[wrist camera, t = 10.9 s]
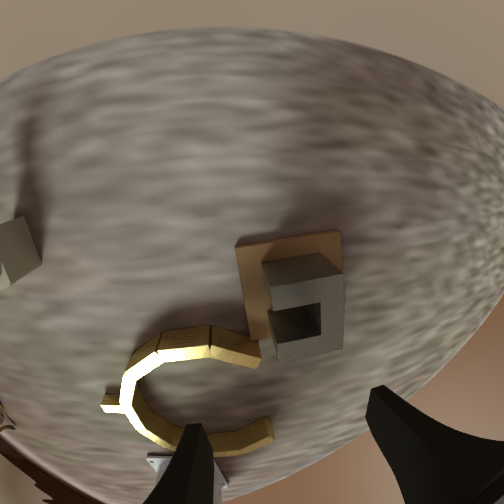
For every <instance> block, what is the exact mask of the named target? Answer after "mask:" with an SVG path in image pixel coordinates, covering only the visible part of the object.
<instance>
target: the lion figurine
mask: <svg viewBox="0 0 504 504" xmlns="http://www.w3.org/2000/svg"><path fill="white" fill-rule="evenodd" d="M2 409H3V406H2V404H1V403H0V424H1V423H2V422H3V421H4V418H3V416H2V415H1V412H2ZM4 429H12V430H16V429H15V428H14V427H13V426H12V425H6V426H3V427H1V428H0V432H1V431H3V430H4Z"/></svg>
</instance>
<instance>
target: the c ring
mask: <svg viewBox="0 0 504 504" xmlns="http://www.w3.org/2000/svg"><path fill="white" fill-rule="evenodd" d="M207 357H211V358H214V359H218V360H221V361H225V362H229V363H233V364H237V365H241V366H245V367H249V368H253V369H257V367H258V365H259V363H260V361H261V359H262V357H261V352H260V347H259V343H258V340H253V341H251V338H250V336H247V335H243V334H240V333H236V332H233V331H229V330H226V329H223V328H219V327H216V326H212V329H210V325H208V326H200V327H193V328H185V329H177V330H169V331H163V334H162V333H161V332H160V333H159V334H158V335H156V336H155V337H154V338H152V339H151V340H150V341H149V342H147V343H146V344H145V345H143V346H142V347H141V348H139V349H138V350H137V351H135V352H134V353H133V354H132V355H131V358H130V360H129V362H128V365H127V367H126V370H125V372H124V375H123V381H122V387H121V394H120V395H106V394H105V395H104V397H103V400H102V402H101V407H102V408H103V410H104V412H109V413H125V414H126V415H127V417H128V418H129V420H130V421H131V423H132V424H133V426H134V427H135V429H136V430H138V432H140V433H141V434H143V435H144V436H146V437H148V438H149V439H151V440H152V441H154V442H156V443H157V444H159V445H161V446H162V447H164V448H166V449H168V448H169V450H171V451H175V450H176V448H177V446H178V443H179V441H180V438H181V436H182V433H183V431H184V429H182V428H178V427H175V426H173V425H172V424H170V423H169V422H167V421H166V420H164V419H163V418H161V417H160V416H158V415H157V414H155V413H154V412H152V411H151V410H150V409H149V407H148V405H147V404H146V402H145V400H144V398H143V396H142V394H141V392H140V390H139V388H138V387H137V384H138V380H139V378H141V377H142V376H144V375H145V374H147V373H148V372H150V371H151V370H153V369H154V368H156V367H157V366H158V365H160V364H161V363H163V362H169V361H180V360H189V359H198V358H207ZM206 435H207V437H208V439H209V442H210V444H211V446H212V448H213V457H225V456H235V455H243V453H244V454H246V453H249V452H251V451H253V450H256V449H258V448H260V447H262V446H264V445H266V444H269V443H271V442H273V441H275V436H274V431H273V427H272V422H271V420H269V419H268V418H266V417H264V418H262V419H260V420H258V421H256V422H255V423H253V424H251V425H249V426H247V427H245V428H243V429H241V430H238V431H232V432H223V433H212V434H206Z"/></svg>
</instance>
